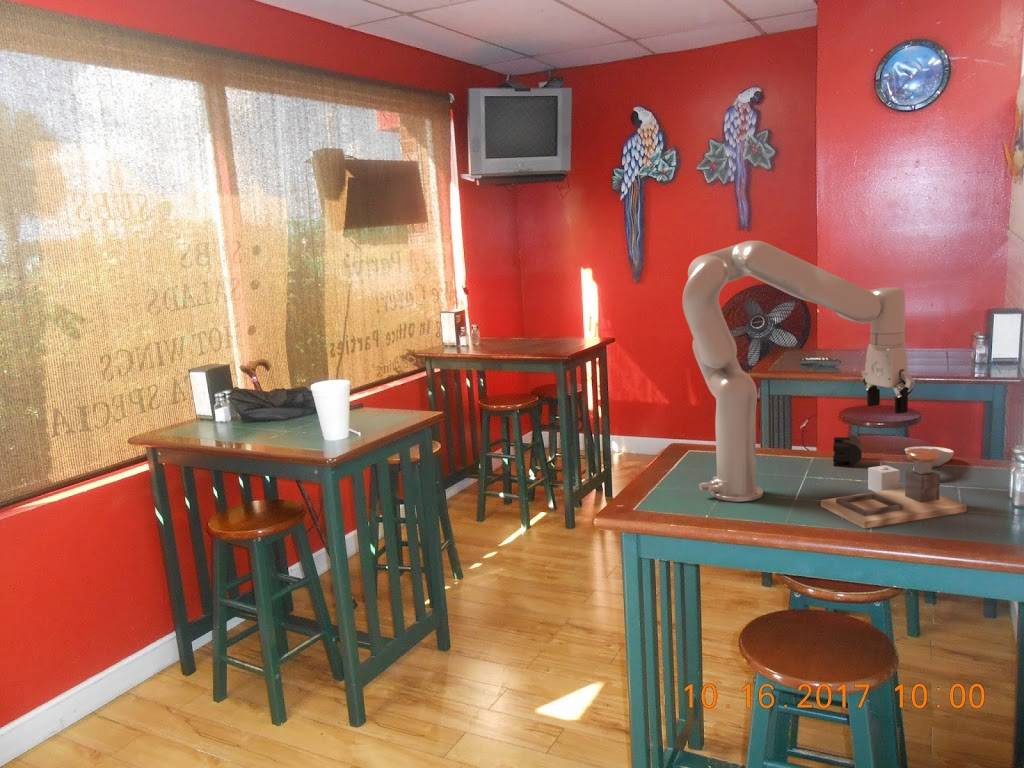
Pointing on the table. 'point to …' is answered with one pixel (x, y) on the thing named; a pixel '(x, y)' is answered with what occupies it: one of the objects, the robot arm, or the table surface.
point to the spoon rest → (943, 454)
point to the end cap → (846, 451)
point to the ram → (923, 460)
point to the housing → (883, 478)
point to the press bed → (896, 503)
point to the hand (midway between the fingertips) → (886, 409)
